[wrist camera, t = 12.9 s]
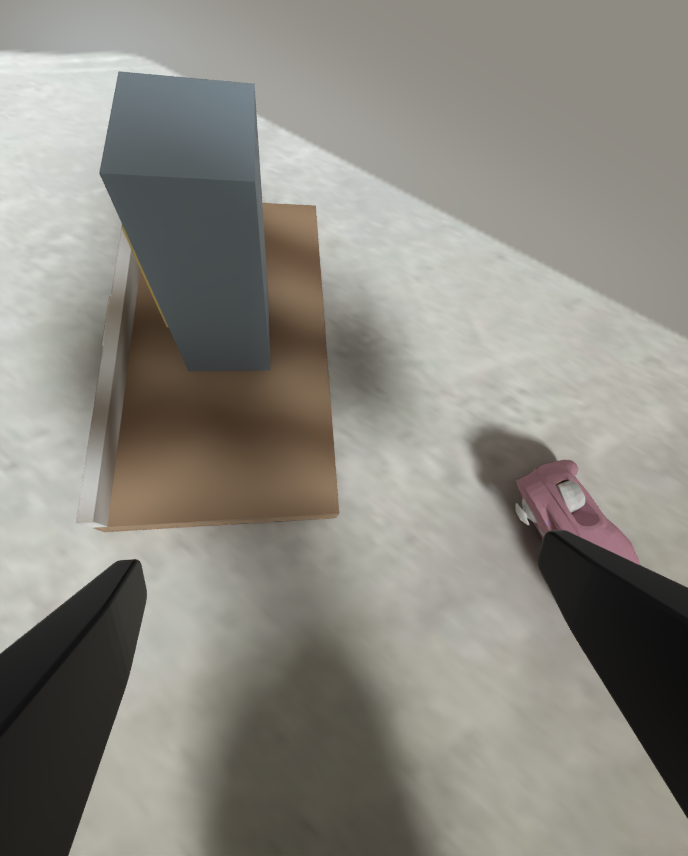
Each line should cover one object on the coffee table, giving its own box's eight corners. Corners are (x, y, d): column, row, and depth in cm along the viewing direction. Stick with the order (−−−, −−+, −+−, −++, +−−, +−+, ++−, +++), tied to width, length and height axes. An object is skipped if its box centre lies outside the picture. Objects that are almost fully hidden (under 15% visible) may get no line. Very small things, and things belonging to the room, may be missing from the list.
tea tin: (268, 300, 26) (254, 83, 15) (270, 370, 24) (254, 181, 13) (187, 299, 25) (109, 70, 14) (182, 371, 23) (88, 172, 12)
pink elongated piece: (495, 487, 26) (502, 479, 20) (564, 455, 26) (595, 437, 19) (581, 644, 24) (623, 696, 17) (662, 614, 23) (739, 657, 16)
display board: (335, 517, 23) (342, 507, 20) (100, 532, 21) (71, 522, 18) (314, 223, 31) (317, 185, 28) (142, 215, 29) (126, 174, 26)
